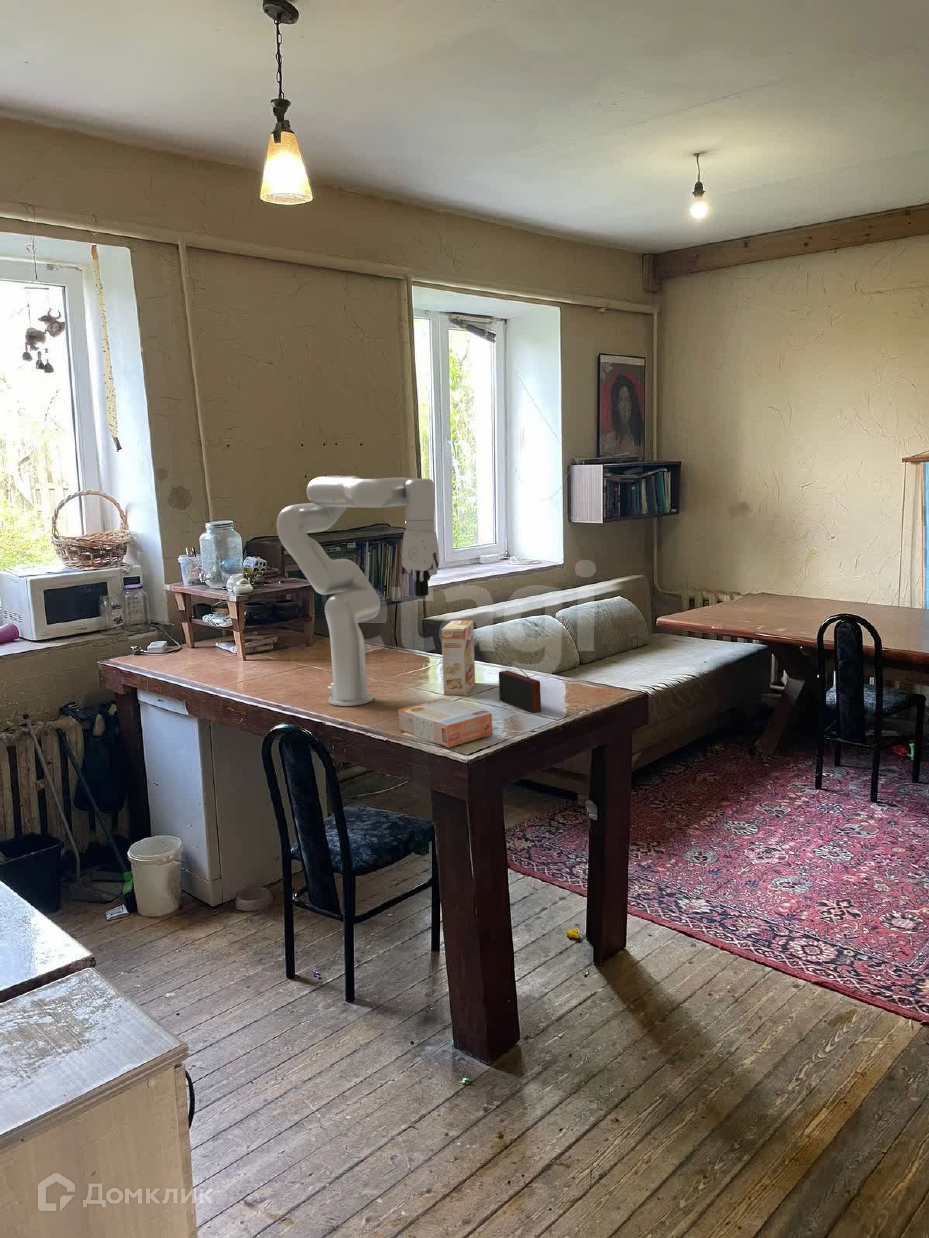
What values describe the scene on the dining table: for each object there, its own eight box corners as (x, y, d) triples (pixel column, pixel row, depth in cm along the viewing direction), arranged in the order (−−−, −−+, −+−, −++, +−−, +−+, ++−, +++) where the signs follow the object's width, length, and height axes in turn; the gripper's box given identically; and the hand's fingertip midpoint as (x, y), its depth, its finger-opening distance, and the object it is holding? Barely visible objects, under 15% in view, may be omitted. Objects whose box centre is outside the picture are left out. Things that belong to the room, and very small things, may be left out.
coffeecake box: (466, 695, 264) (464, 629, 260) (442, 695, 265) (439, 629, 262) (476, 682, 278) (474, 619, 275) (453, 682, 280) (451, 619, 276)
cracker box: (398, 731, 231) (448, 748, 214) (397, 708, 230) (446, 724, 213) (443, 719, 239) (494, 735, 223) (441, 697, 238) (492, 711, 222)
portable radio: (542, 712, 244) (540, 657, 241) (532, 714, 242) (531, 658, 240) (505, 697, 260) (503, 646, 257) (495, 699, 258) (494, 647, 256)
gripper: (390, 526, 241) (392, 594, 245) (430, 529, 231) (431, 600, 234) (411, 524, 246) (412, 591, 250) (451, 526, 236) (452, 596, 240)
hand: (421, 595), depth 242 cm, fingers closed
